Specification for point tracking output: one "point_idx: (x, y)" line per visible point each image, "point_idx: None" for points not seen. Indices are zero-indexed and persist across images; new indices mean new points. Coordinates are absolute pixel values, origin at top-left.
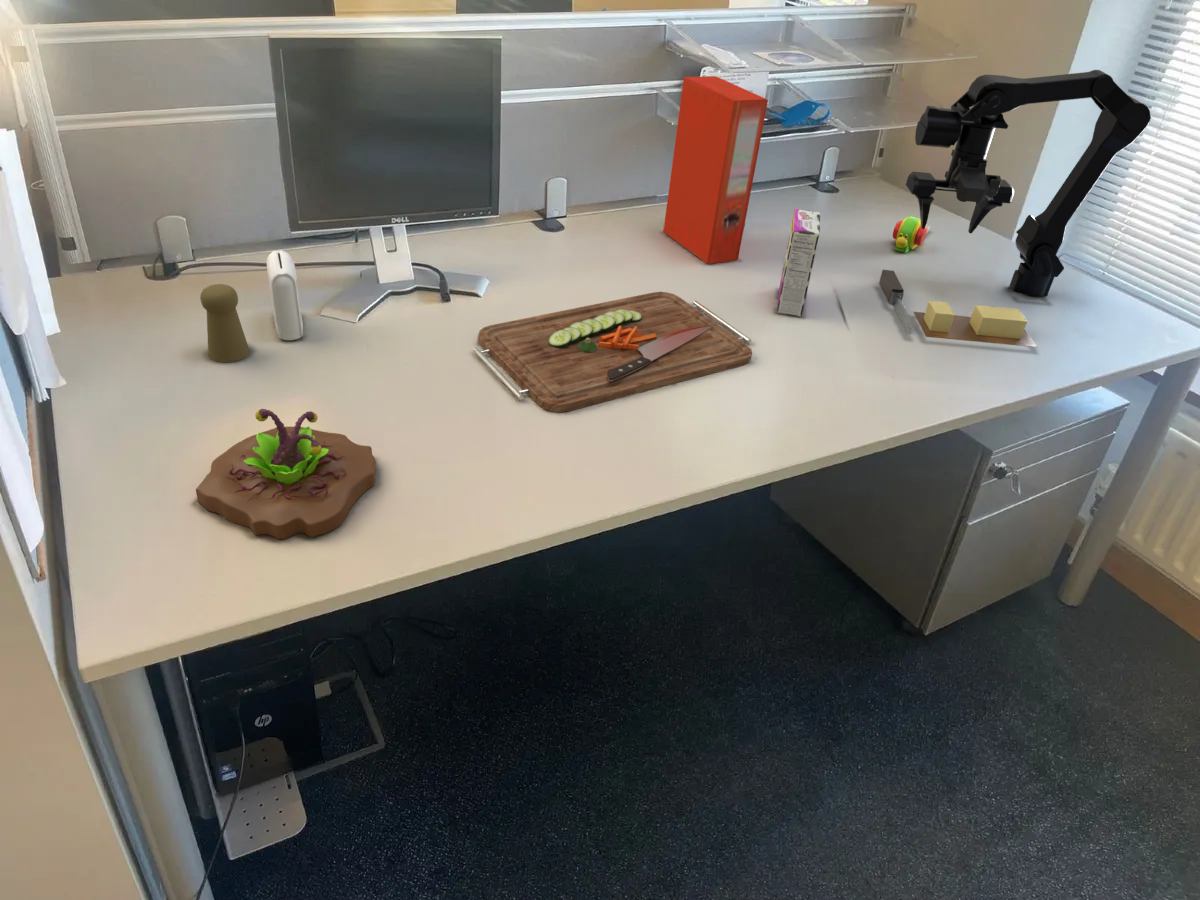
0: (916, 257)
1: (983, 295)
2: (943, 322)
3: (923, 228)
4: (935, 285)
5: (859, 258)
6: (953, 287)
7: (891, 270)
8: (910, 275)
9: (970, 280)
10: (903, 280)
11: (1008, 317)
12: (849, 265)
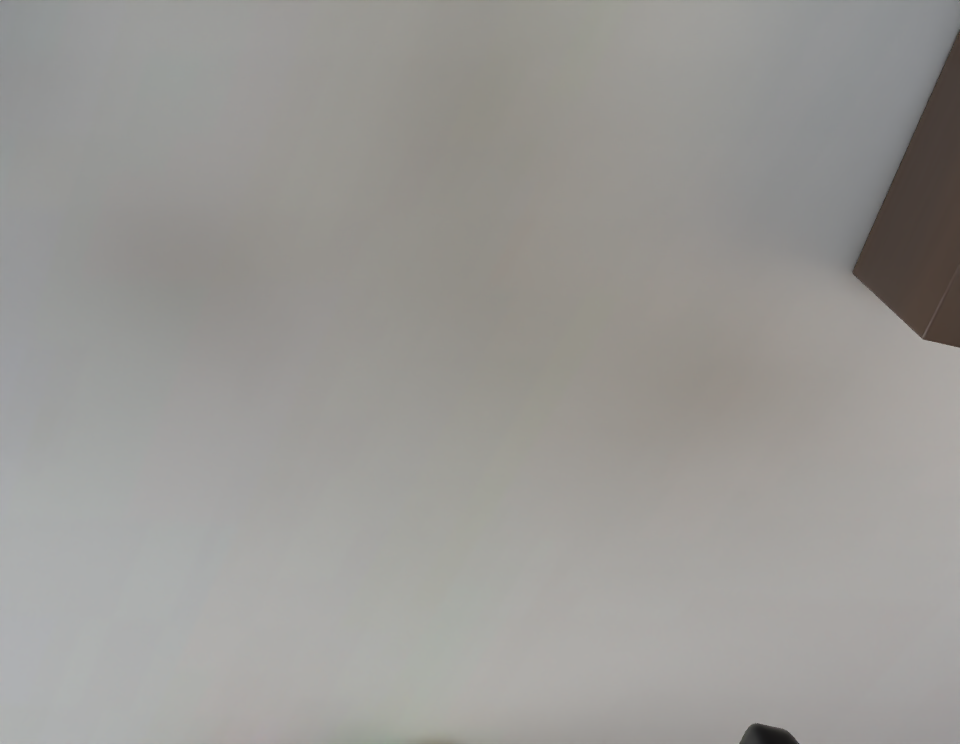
0: (345, 707)
1: (50, 147)
2: None
3: (779, 732)
4: (395, 330)
5: (755, 716)
6: (258, 294)
7: (947, 340)
8: (518, 488)
9: (81, 401)
10: (619, 416)
11: None
12: (901, 638)
